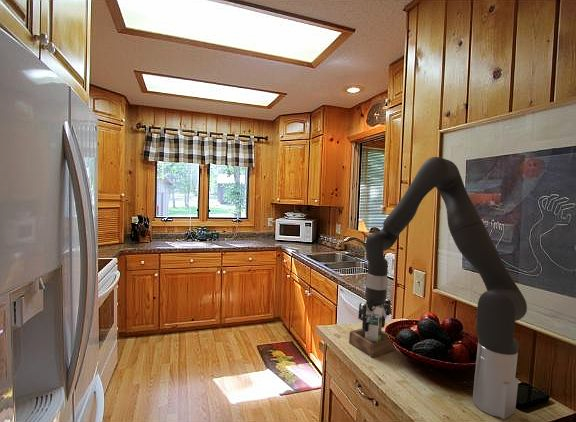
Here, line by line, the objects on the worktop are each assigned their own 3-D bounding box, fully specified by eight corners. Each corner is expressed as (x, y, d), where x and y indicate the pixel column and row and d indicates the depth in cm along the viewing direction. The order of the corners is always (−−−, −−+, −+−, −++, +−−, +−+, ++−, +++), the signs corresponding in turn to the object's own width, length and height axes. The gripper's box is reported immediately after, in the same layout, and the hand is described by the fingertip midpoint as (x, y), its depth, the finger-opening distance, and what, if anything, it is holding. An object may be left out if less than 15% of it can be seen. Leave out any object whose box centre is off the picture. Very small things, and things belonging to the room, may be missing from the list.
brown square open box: (395, 350, 120) (396, 338, 120) (372, 357, 114) (373, 345, 114) (371, 336, 130) (372, 325, 130) (349, 343, 124) (349, 331, 124)
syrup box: (364, 344, 120) (366, 305, 119) (365, 337, 126) (367, 300, 125) (380, 346, 118) (382, 307, 117) (380, 339, 124) (383, 302, 123)
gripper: (369, 291, 113) (366, 336, 115) (397, 286, 121) (394, 329, 122) (354, 285, 120) (352, 328, 121) (382, 281, 127) (379, 321, 128)
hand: (373, 328), depth 122 cm, fingers closed on syrup box, 8 cm apart
